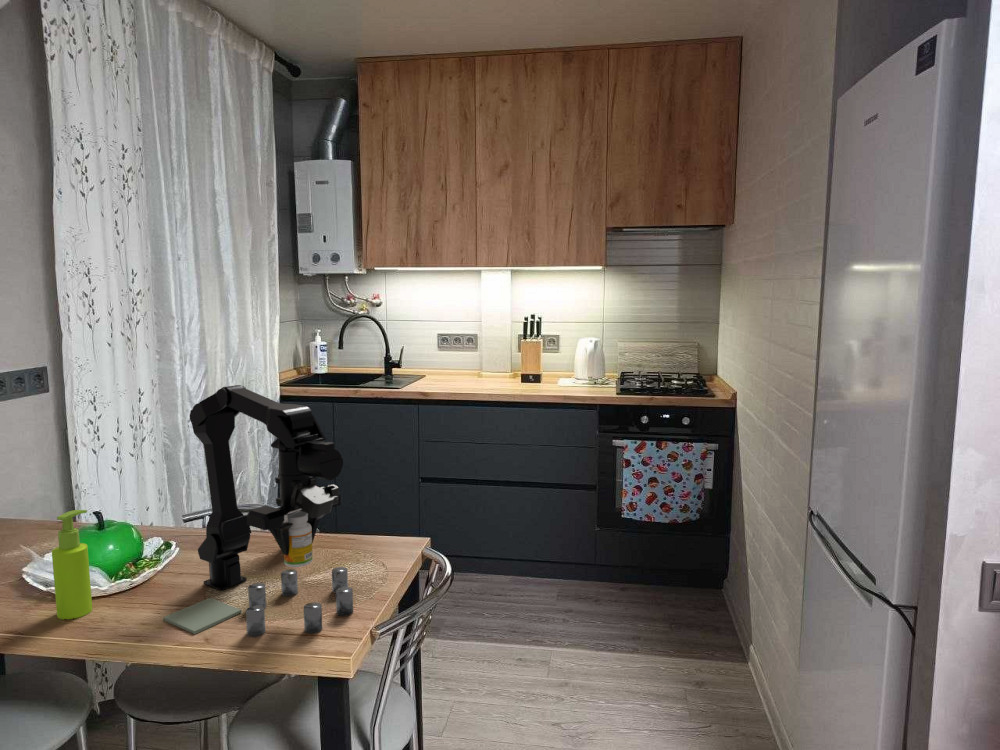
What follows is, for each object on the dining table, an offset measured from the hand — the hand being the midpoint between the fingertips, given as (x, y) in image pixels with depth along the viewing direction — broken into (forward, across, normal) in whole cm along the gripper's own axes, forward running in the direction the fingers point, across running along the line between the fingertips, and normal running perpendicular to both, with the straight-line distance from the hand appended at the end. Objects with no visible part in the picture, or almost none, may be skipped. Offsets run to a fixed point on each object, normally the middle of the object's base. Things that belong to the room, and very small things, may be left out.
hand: (297, 549), depth 132 cm
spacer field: (+12, 0, 0) cm, 12 cm away
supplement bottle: (+3, 0, 0) cm, 3 cm away
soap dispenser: (+13, -24, +37) cm, 46 cm away
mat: (+12, -12, +14) cm, 22 cm away
